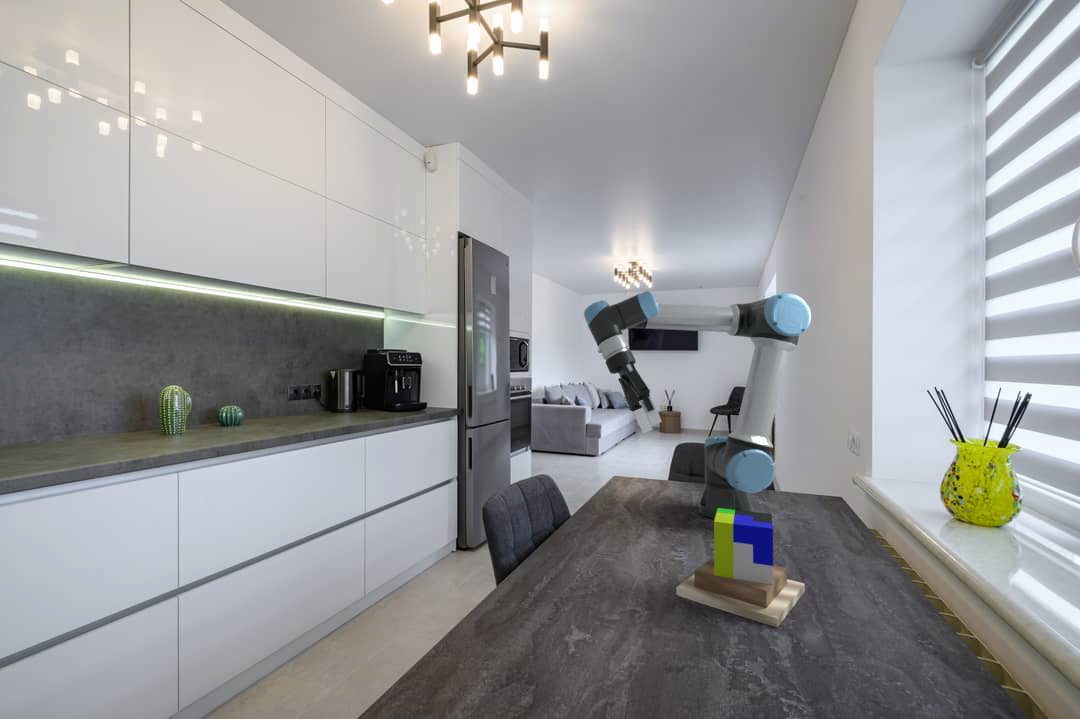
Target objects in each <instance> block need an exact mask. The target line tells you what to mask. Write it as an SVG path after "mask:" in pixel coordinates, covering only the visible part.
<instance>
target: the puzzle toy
mask: <svg viewBox="0 0 1080 719" xmlns="http://www.w3.org/2000/svg"><path fill="white" fill-rule="evenodd" d="M713 538H714V539H713V543H714V544H713V547H714V548H713V550H714V551H713V553H714V555H713V557H714V576H721V577H727V578H733V579H740V580H746V581H752V582H759V583H765V584H771V585H773V565H774V526H773V517H772V513H767V512H756V511H753V512H749V511H740V510H730V509H721V508H718V509H717V513H716V517H715V519H714V522H713Z"/></svg>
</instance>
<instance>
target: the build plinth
mask: <svg viewBox="0 0 1080 719" xmlns="http://www.w3.org/2000/svg"><path fill="white" fill-rule="evenodd" d="M805 584H806V583H804V582H799V581H795V580H791V579H788V568H787V567H786V568H785V567H782V566H778V565H775V564H773V585H771V584H765V583H759V582H752V581H746V580H740V579H733V578H727V577H721V576H714V556H713V557H712V558H710V559H709V560H708V561H706V562H705V563H703V564H702V565H701V566H700V567H698V568H696V569H695V570H694V574H693V575H692V576H690V577H688V578H687V579H685V580H684V581H683V582H682V583H680V584H679V585H677V586H676V588H675V590H676V596H677V595H678V596H677V597H681V598H684V599H686V598H687V600H690V601H693V602H696V603H699V604H703V605H706V606H708V607H711V608H713V609H718V610H720V611H721V610H722V611H724V612H728V613H731V614H734V615H737V616H740V617H744V618H745V619H750V620H753V621H754V622H755V621H756V622H758V623H762V624H765V625H768V626H772V627H774V628H779V626H780V625H781V624H782V623H783V621H784V620H785V619H786V617H787V616H788V614H789V613H790V612H791V610H793V608H794V606H795V605H796V604H797V602H798V601H799V600H800V598H801V597H802V596H803V594H804V593H805V591H806V590H805V589H806V587H805V586H806V585H805Z"/></svg>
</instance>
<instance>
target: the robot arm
mask: <svg viewBox="0 0 1080 719" xmlns="http://www.w3.org/2000/svg"><path fill="white" fill-rule="evenodd" d="M656 298H657V297H655V295H654V293H652V291H649V290H646V291H643V292H641V293H637V294H635V295H633V296H631V297H628V298H626V299H624V300H622V301H620V302H618V303H615V304H611V305H610V304H609V303H608V302H607V301H606V300H600V301H595V302H593V303H592V304H590V305H589V306H587V307H586V308H585V310H584V312H583V316H584V319H585V321H586V323H587V326H588V329H589V331H590V333H591V335H592V337H593V339H594V341H595V343H596V345H597V347H598V350H597V352H598V354H601V356H602V358H603V360H605V365H606V367H607V369H608V371H609V373H610V374H613V375H614V374H619V378H618V382H619V383H620V386H621V389H622V391H623V394H624V397H625V400H626V402H627V405H628V407H629V411H631V412H632V413H633V415H634V418H635V420H636V421H637V423H638V425H639V428H640V430H641V433H642V434H643V435H644V434H646V433H648V432H651V431H653V426H655V425H657V424H659V423H662V422H663V420H662V419H661V416H660V415H659V413H658V411H657V409H656V406H655V404H654V402H653V400H652V398H651V394H650V393H651V390H650V388H649V387H648V386H647V384H646V382H645V381H644V379H643V378H642V376H641V375H640V374H639V372H638V371H637V369H636V367H635V364H636V363H637V361H636V358H635V357H634V354H633V352H632V351H631V350H630V345H629V344H628V342H627V339H626V338H625V335H624V333H623V332H622V331H624V330H625V331H626V329H627V330H630V329H648V330H649V329H650V330H651V329H652V330H655V329H656V330H671V331H672V330H673V331H675V330H676V331H693V332H696V331H698V332H717V333H727V335H729V336H731V337H743V338H750V340H751V342H752V344H753V345H754V350H753V354H752V358H751V362H750V366H749V372H748V375H747V380H746V384H745V386H744V387H745V388H744V392H743V396H742V400H741V405H740V410H739V414H738V418H737V421H736V427H735V429H734V431H732V432H730V433H729V434H728V435H727V436H709V437H707V438H705V439H704V447H703V449H704V488H703V491H702V494H701V498H700V500H699V504H698V512H699V514H701V515H702V516H704V517H706V518H710V519H714V520H715V517H716V513H717V509H718V508H721V509H730V510H740V511H749V512H754V509H753V505H752V503H751V500H750V496H749V494H751V493H752V494H753V493H754V494H755V493H759V492H761V491H764V490H765V489H767V488H768V487H769V486H770V485H771V484H772V483H773V481H774V479H775V477H776V465H775V463H774V460H773V458H772V453H773V450H774V445H773V443H772V442H771V441H770V436H771V432H772V431H771V430H772V426H773V422H774V418H775V414H776V409H777V405H778V400H779V396H780V393H781V388H782V387H781V386H782V384H783V379H784V374H785V370H786V367H787V366H786V365H787V363H788V357H789V354H790V352H792V351H794V350H795V349H797V347H798V342H799V339H800V335H802V334H803V333H804V332H806V331H807V329H808V328H809V327H810V325H811V322H812V312H811V309H810V307H809V305H808V303H807V302H806V300H804V299H803V298H802V297H801V296H799V295H797V294H795V293H788V292H787V293H778V294H777V293H776V294H774V295H772V296H770V297H766V298H764V299H760V300H757V301H753V302H749V303H748V302H747V303H732V304H730V306H713V305H711V306H710V305H688V304H687V305H686V304H669V303H668V304H666V303H665V304H663V303H658V300H657V299H656Z"/></svg>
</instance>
